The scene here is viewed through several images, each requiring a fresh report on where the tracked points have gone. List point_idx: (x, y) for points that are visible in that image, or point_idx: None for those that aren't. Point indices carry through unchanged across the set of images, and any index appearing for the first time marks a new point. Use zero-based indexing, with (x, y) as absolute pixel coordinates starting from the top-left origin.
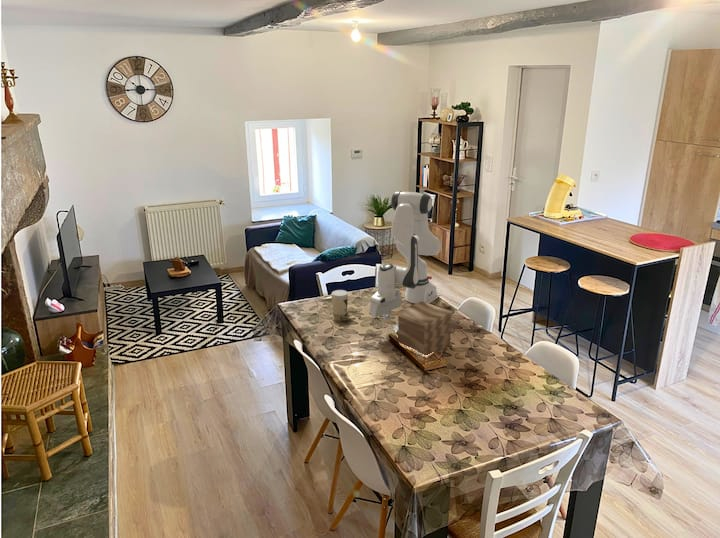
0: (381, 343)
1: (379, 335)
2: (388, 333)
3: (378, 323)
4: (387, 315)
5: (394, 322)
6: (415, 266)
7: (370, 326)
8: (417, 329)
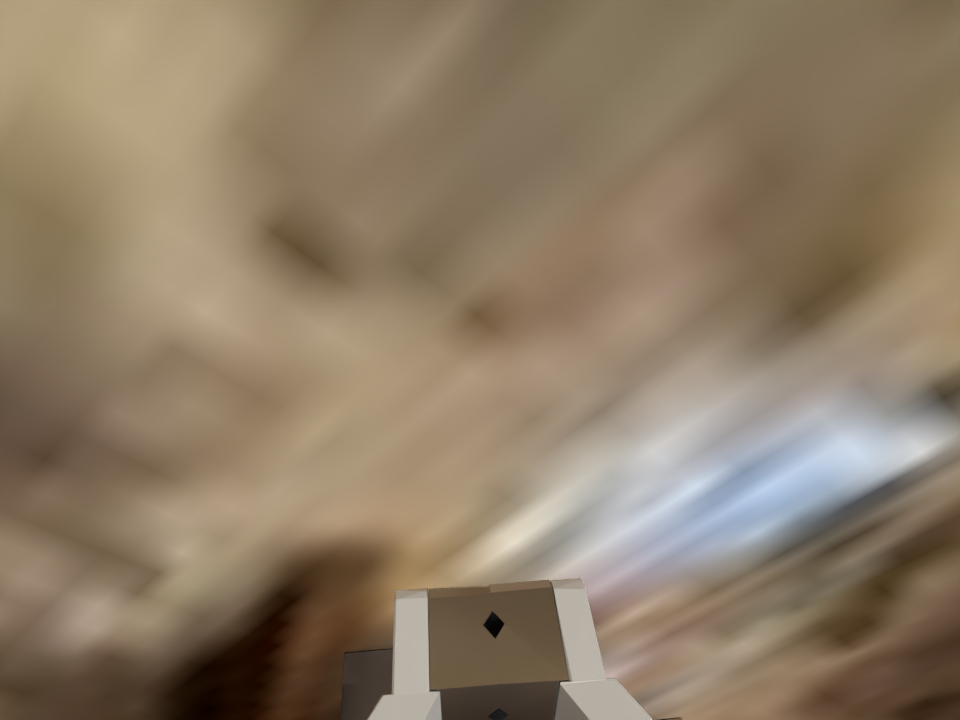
0: (7, 671)
1: (127, 500)
2: (339, 528)
3: (543, 27)
4: (543, 714)
5: (845, 280)
6: None
7: (186, 6)
8: None
